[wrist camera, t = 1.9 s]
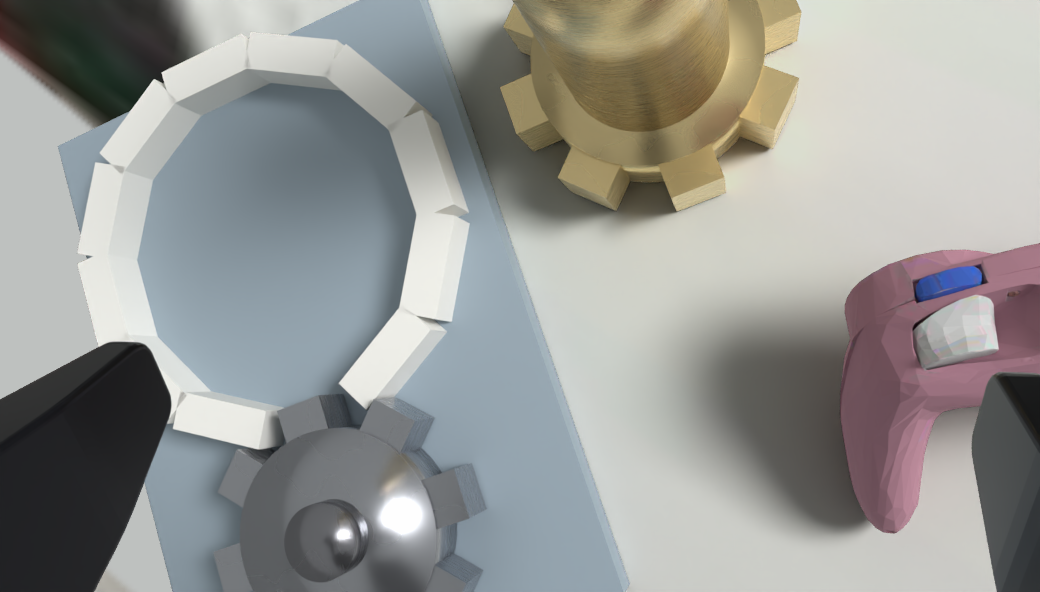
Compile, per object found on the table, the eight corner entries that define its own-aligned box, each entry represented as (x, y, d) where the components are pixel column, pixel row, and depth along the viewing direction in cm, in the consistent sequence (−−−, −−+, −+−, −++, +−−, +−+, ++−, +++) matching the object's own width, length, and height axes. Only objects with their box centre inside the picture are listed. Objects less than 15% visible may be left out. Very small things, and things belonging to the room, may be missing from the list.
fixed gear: (523, 619, 21) (496, 650, 19) (287, 689, 23) (234, 726, 20) (439, 358, 22) (403, 356, 20) (218, 441, 24) (162, 448, 21)
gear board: (629, 584, 22) (616, 607, 20) (227, 704, 24) (176, 736, 22) (424, -10, 24) (393, -46, 22) (82, 154, 27) (25, 135, 25)
